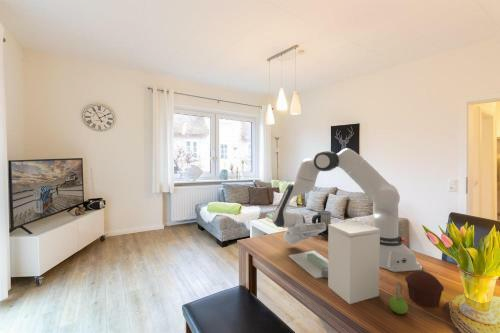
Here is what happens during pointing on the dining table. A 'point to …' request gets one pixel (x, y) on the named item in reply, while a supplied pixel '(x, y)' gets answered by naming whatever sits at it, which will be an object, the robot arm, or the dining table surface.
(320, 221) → the milk frother
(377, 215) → the robot arm
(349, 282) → the tall white box
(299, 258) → the mat
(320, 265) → the t-shaped bar
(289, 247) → the dining table surface
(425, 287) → the muffin
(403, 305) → the green rounded piece
